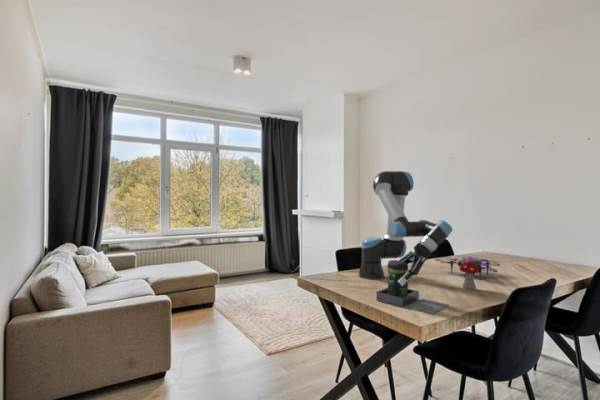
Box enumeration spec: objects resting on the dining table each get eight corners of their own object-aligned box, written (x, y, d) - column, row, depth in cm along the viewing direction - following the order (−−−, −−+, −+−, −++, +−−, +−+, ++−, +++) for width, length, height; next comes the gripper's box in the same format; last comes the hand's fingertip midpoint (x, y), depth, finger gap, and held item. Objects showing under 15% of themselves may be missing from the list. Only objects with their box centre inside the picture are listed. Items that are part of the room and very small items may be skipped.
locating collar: (376, 300, 155) (376, 291, 155) (393, 293, 166) (393, 285, 166) (402, 307, 145) (402, 298, 145) (418, 299, 156) (418, 291, 156)
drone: (431, 256, 215) (458, 252, 229) (431, 271, 215) (458, 266, 229) (493, 267, 181) (520, 262, 195) (493, 285, 181) (520, 278, 195)
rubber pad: (406, 307, 145) (406, 306, 145) (422, 299, 156) (422, 298, 156) (433, 314, 136) (433, 313, 136) (448, 305, 148) (448, 304, 148)
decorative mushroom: (455, 287, 177) (455, 259, 177) (467, 285, 180) (467, 258, 180) (471, 292, 168) (471, 262, 168) (483, 290, 171) (483, 261, 171)
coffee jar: (411, 302, 152) (411, 262, 152) (396, 304, 150) (396, 263, 150) (398, 296, 161) (398, 258, 161) (384, 297, 159) (384, 259, 159)
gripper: (444, 258, 144) (410, 293, 143) (419, 249, 169) (390, 278, 168) (432, 246, 144) (399, 281, 142) (409, 238, 168) (380, 268, 167)
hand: (394, 280), depth 155 cm, fingers open, 13 cm apart
